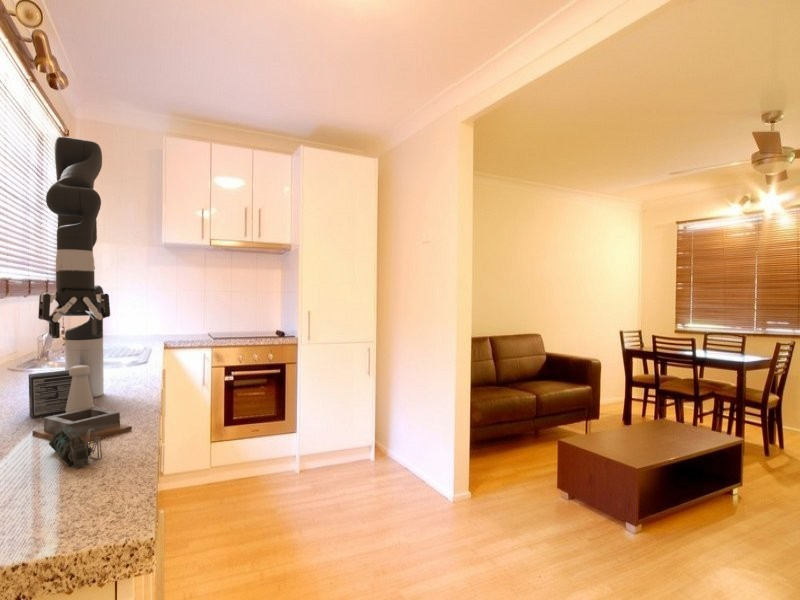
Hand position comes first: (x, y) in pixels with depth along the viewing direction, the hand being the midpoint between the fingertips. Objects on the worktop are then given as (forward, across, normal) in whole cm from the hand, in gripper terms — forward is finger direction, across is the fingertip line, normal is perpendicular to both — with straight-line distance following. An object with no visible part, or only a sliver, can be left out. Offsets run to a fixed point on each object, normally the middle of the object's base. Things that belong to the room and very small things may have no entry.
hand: (76, 336), depth 107 cm
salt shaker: (+21, -2, -2) cm, 21 cm away
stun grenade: (+21, +12, +26) cm, 36 cm away
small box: (+21, -1, -13) cm, 24 cm away
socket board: (+21, +4, +11) cm, 24 cm away
